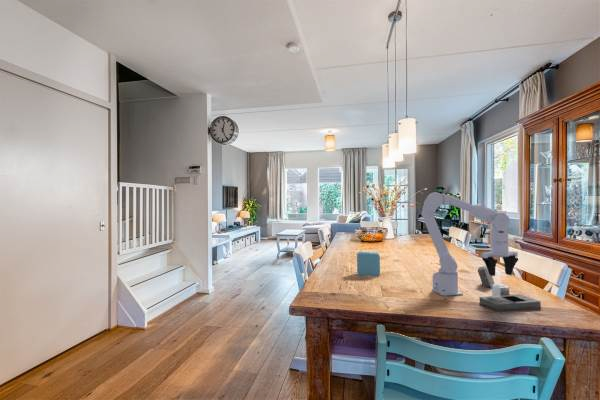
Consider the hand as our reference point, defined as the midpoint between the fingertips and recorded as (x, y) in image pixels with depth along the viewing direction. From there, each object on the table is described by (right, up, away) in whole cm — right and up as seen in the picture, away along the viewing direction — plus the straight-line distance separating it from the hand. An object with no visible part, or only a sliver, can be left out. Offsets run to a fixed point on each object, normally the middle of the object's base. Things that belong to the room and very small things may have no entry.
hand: (500, 274), depth 114 cm
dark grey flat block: (-3, -9, -9) cm, 13 cm away
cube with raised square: (0, -10, 0) cm, 10 cm away
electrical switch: (+6, -10, +17) cm, 20 cm away
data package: (-44, -11, +38) cm, 60 cm away
